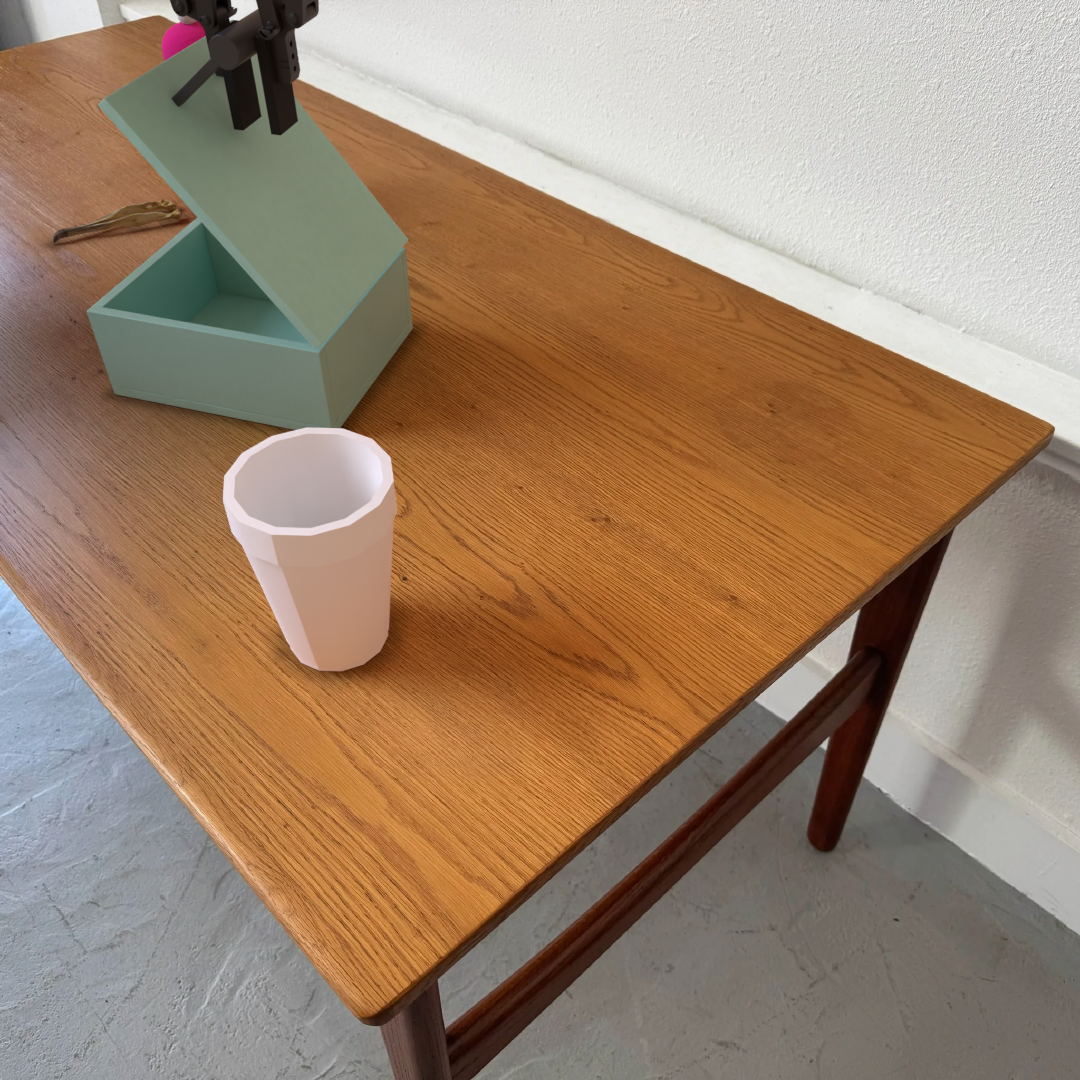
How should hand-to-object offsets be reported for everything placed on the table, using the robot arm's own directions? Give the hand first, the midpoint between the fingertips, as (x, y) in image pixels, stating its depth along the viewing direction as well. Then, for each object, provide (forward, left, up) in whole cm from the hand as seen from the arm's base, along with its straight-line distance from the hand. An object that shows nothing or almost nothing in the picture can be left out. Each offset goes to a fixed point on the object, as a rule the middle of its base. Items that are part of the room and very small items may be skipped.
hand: (266, 124), depth 74 cm
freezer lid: (-1, 0, -4) cm, 5 cm away
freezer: (-4, 0, -21) cm, 21 cm away
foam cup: (+15, -27, -21) cm, 37 cm away
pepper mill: (-22, +25, -21) cm, 39 cm away
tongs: (-30, +17, -21) cm, 40 cm away
